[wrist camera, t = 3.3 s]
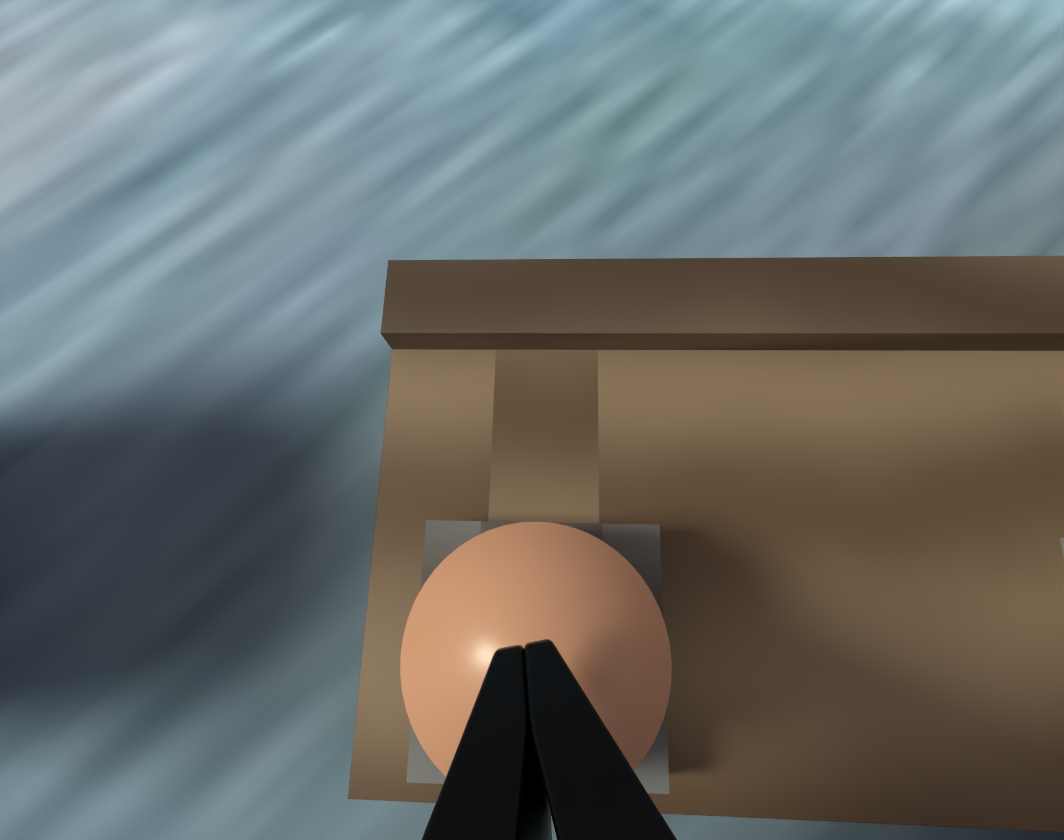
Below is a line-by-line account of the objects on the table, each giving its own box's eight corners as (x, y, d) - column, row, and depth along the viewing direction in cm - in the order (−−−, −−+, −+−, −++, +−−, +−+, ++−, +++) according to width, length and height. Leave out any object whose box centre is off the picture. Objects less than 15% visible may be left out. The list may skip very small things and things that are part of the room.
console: (1272, 790, 14) (1600, 883, 10) (394, 753, 16) (325, 820, 11) (1139, 335, 18) (1336, 249, 13) (428, 335, 19) (385, 256, 14)
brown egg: (668, 637, 15) (729, 664, 10) (542, 771, 14) (529, 885, 9) (546, 510, 16) (538, 469, 11) (423, 629, 16) (346, 652, 10)
